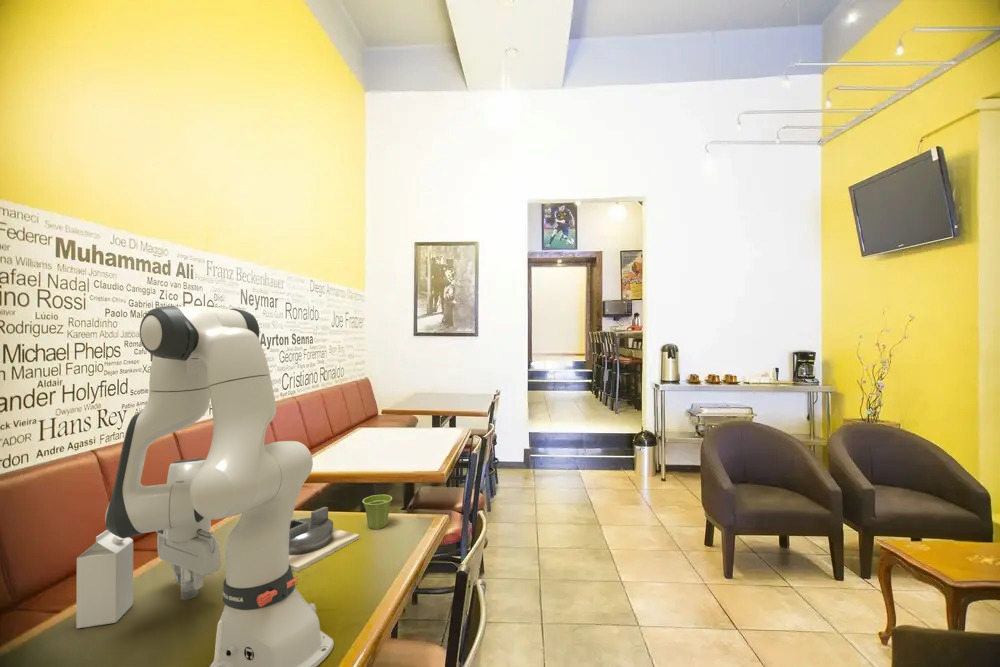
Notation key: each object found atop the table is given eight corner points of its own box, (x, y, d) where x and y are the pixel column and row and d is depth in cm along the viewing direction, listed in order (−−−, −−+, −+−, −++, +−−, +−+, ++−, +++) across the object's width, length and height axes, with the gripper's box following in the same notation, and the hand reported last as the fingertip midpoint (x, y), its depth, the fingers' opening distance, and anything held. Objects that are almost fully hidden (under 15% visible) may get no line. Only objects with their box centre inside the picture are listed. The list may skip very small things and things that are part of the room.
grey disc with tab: (345, 535, 135) (344, 511, 135) (299, 558, 121) (299, 531, 121) (308, 526, 142) (308, 503, 142) (262, 547, 128) (262, 521, 128)
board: (359, 538, 136) (359, 534, 136) (297, 571, 117) (297, 566, 117) (310, 526, 146) (310, 522, 146) (245, 554, 127) (245, 549, 127)
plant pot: (360, 523, 148) (360, 497, 148) (389, 518, 152) (389, 492, 152) (364, 533, 140) (364, 506, 140) (395, 528, 144) (394, 501, 144)
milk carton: (75, 629, 94) (76, 539, 94) (96, 610, 101) (96, 526, 101) (115, 623, 96) (116, 535, 96) (133, 605, 103) (133, 522, 103)
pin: (201, 593, 107) (201, 560, 107) (185, 601, 104) (185, 566, 104) (193, 590, 108) (193, 557, 109) (177, 597, 105) (177, 563, 106)
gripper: (228, 528, 105) (228, 588, 104) (180, 514, 114) (179, 569, 114) (199, 539, 99) (199, 602, 99) (151, 523, 108) (151, 580, 108)
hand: (188, 584), depth 106 cm, fingers open, 6 cm apart
